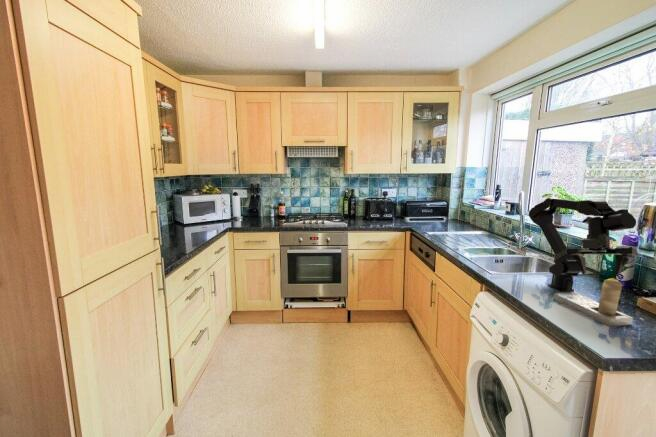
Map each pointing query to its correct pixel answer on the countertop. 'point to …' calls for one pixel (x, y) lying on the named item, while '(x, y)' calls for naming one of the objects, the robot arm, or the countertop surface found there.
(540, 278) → the countertop surface
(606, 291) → the peg
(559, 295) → the beige slotted board
